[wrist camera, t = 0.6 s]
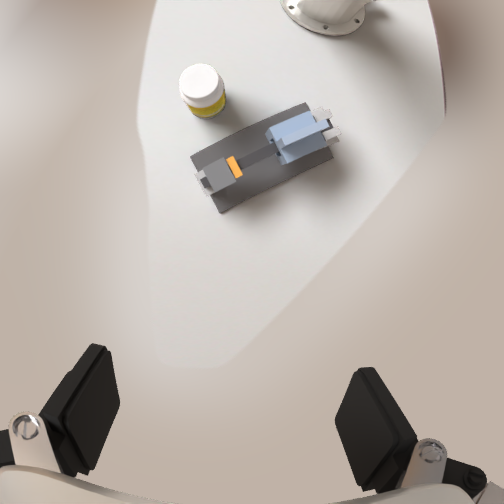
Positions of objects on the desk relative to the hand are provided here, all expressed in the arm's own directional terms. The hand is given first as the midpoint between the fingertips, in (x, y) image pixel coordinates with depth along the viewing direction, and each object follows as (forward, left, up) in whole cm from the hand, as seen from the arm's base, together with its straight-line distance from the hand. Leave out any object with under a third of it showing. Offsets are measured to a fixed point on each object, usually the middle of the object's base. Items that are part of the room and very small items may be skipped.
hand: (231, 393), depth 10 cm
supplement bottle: (-5, -17, -28) cm, 33 cm away
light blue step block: (-11, -8, -24) cm, 28 cm away
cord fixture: (-8, -8, -28) cm, 30 cm away
